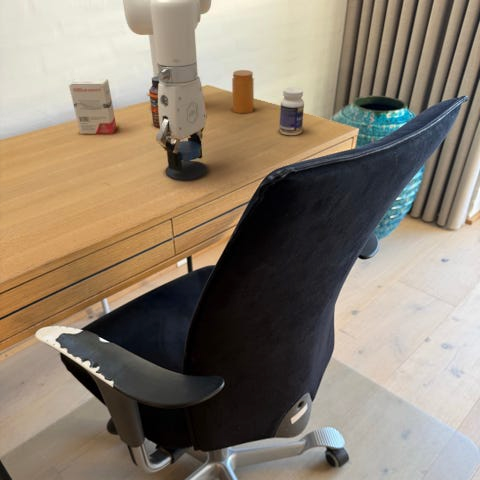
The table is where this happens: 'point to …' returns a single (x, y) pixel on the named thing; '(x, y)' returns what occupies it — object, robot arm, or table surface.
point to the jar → (243, 91)
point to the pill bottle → (291, 111)
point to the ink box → (93, 106)
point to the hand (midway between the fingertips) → (185, 162)
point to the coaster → (188, 171)
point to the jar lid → (189, 150)
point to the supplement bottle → (154, 100)
